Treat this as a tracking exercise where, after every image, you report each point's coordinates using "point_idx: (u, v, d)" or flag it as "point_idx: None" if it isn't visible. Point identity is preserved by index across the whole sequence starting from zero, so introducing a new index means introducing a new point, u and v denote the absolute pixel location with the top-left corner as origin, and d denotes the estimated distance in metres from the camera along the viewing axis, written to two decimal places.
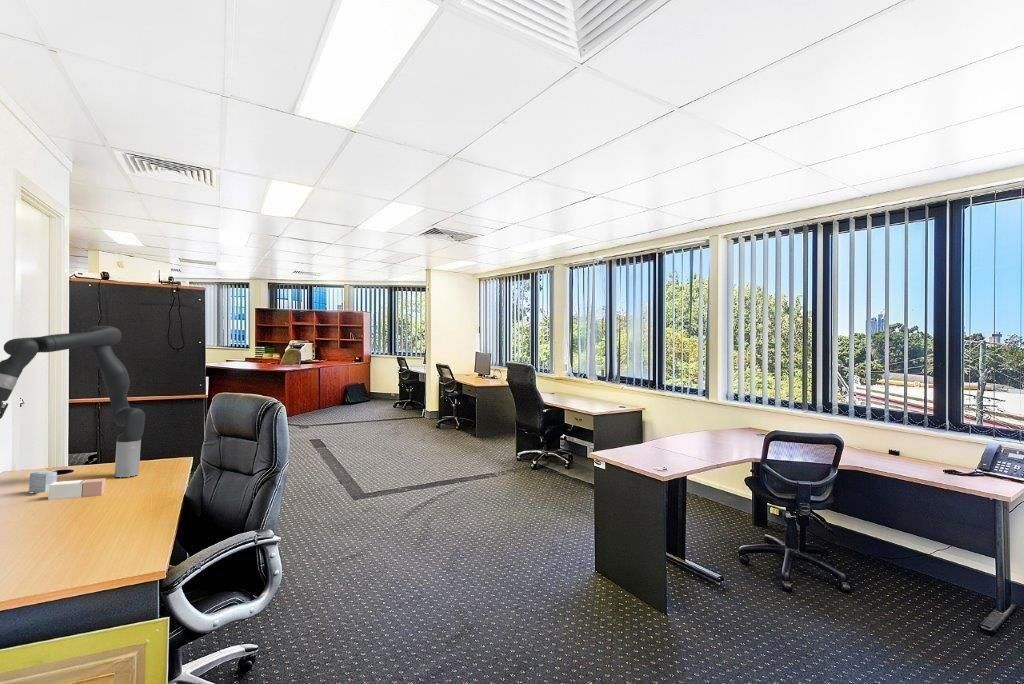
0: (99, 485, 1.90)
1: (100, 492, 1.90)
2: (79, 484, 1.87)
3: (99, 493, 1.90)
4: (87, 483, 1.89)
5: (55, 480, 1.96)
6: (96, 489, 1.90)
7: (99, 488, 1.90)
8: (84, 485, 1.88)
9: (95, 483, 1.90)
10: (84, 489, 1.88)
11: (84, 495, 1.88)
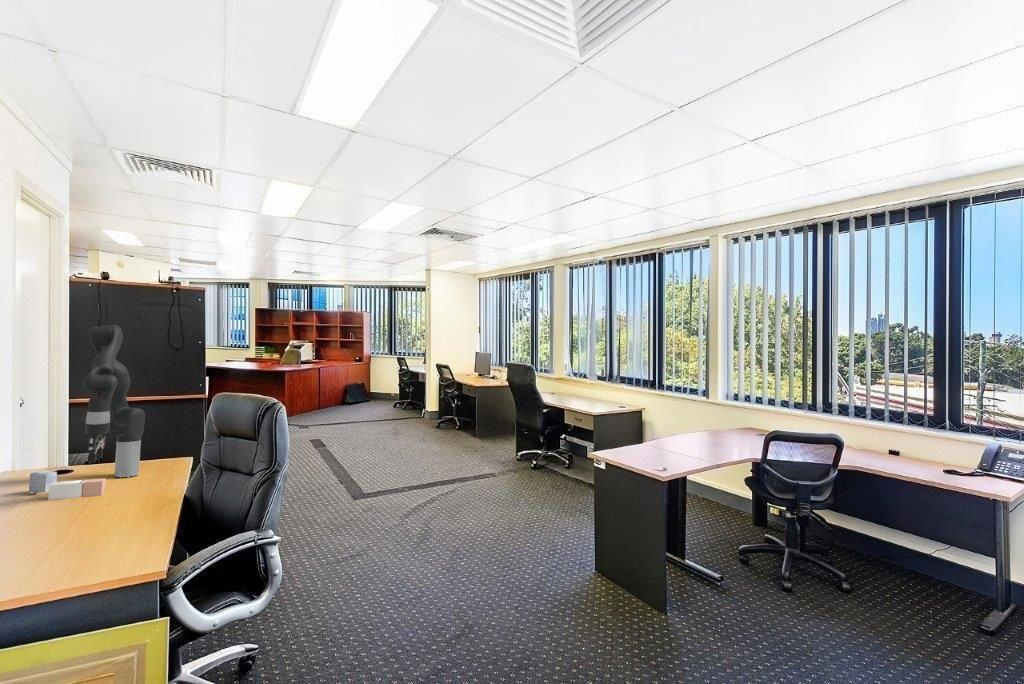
0: (99, 485, 1.90)
1: (100, 492, 1.90)
2: (79, 484, 1.87)
3: (99, 493, 1.90)
4: (87, 483, 1.89)
5: (55, 480, 1.96)
6: (96, 489, 1.90)
7: (99, 488, 1.90)
8: (84, 485, 1.88)
9: (95, 483, 1.90)
10: (84, 489, 1.88)
11: (84, 495, 1.88)
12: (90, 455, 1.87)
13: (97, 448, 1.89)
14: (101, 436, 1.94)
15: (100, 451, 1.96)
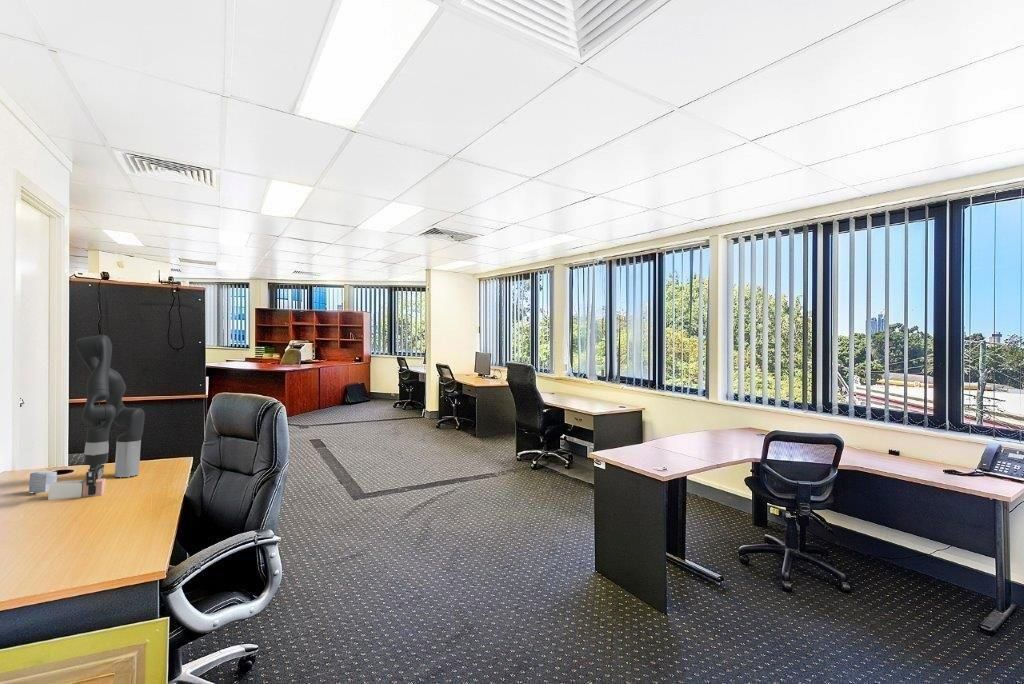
0: (99, 485, 1.90)
1: (100, 492, 1.90)
2: (79, 484, 1.87)
3: (99, 493, 1.90)
4: None
5: (55, 480, 1.96)
6: (96, 489, 1.90)
7: (99, 488, 1.90)
8: (84, 485, 1.88)
9: None
10: (84, 489, 1.88)
11: (84, 495, 1.88)
12: (90, 487, 1.88)
13: (97, 479, 1.90)
14: (100, 466, 1.94)
15: None
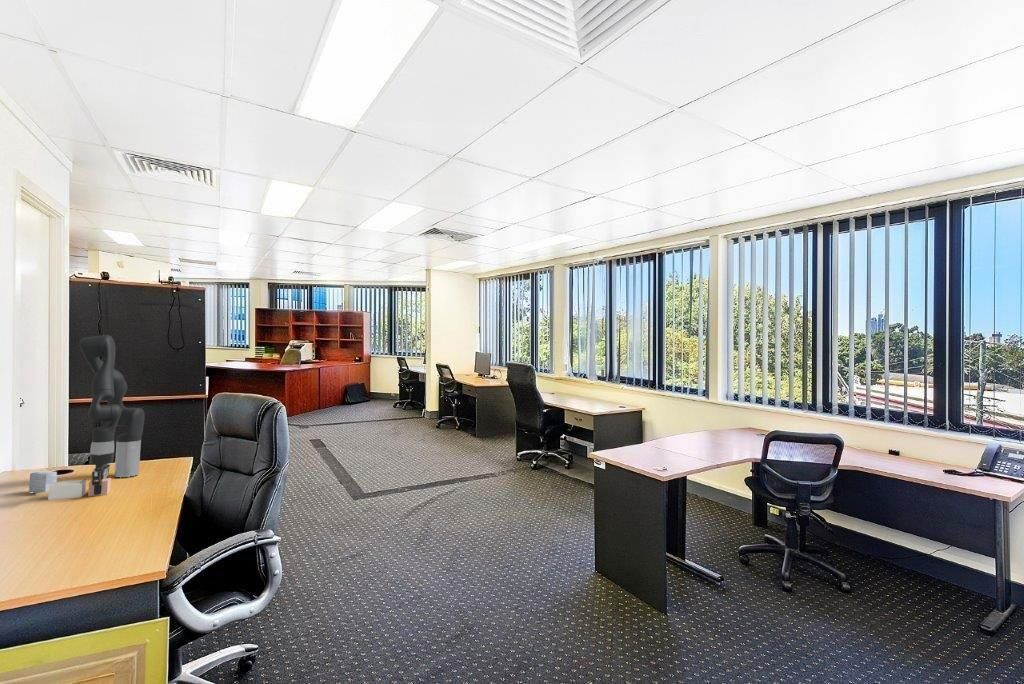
0: (104, 485, 1.91)
1: (106, 492, 1.91)
2: (79, 484, 1.87)
3: (105, 493, 1.91)
4: None
5: (55, 480, 1.96)
6: (102, 489, 1.91)
7: (105, 488, 1.91)
8: (90, 485, 1.89)
9: None
10: (90, 489, 1.89)
11: (90, 495, 1.89)
12: (96, 487, 1.89)
13: (102, 479, 1.91)
14: (105, 465, 1.94)
15: None
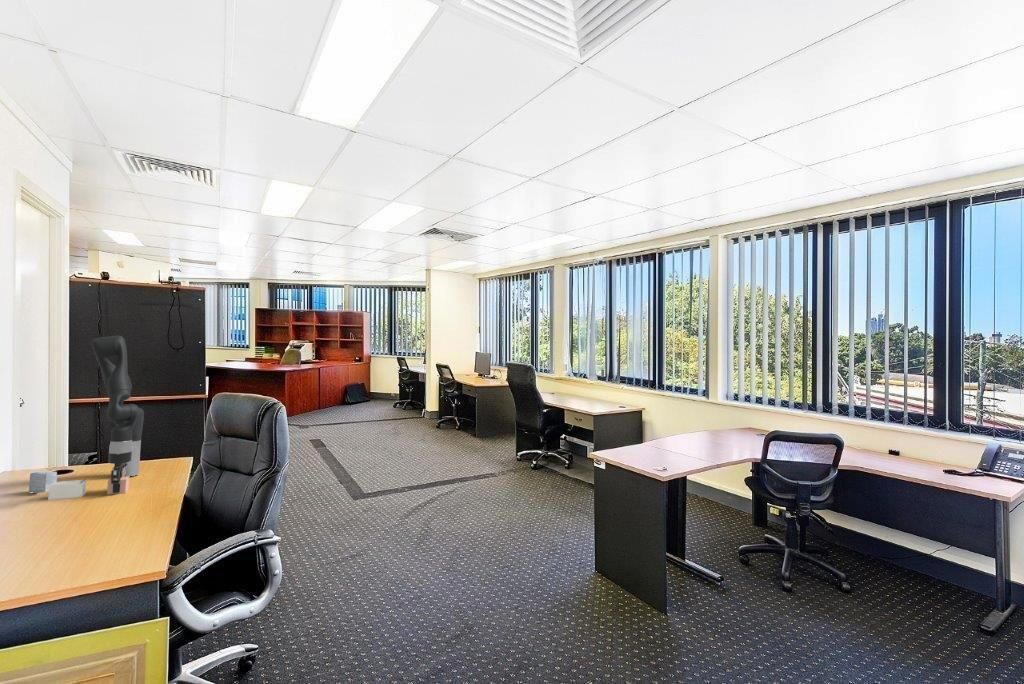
0: (123, 483, 1.94)
1: (124, 490, 1.94)
2: (79, 484, 1.87)
3: (123, 491, 1.94)
4: None
5: (55, 480, 1.96)
6: (121, 487, 1.94)
7: (124, 486, 1.94)
8: (109, 483, 1.92)
9: None
10: (109, 487, 1.92)
11: (109, 493, 1.92)
12: (115, 485, 1.92)
13: (121, 477, 1.94)
14: (123, 464, 1.97)
15: None
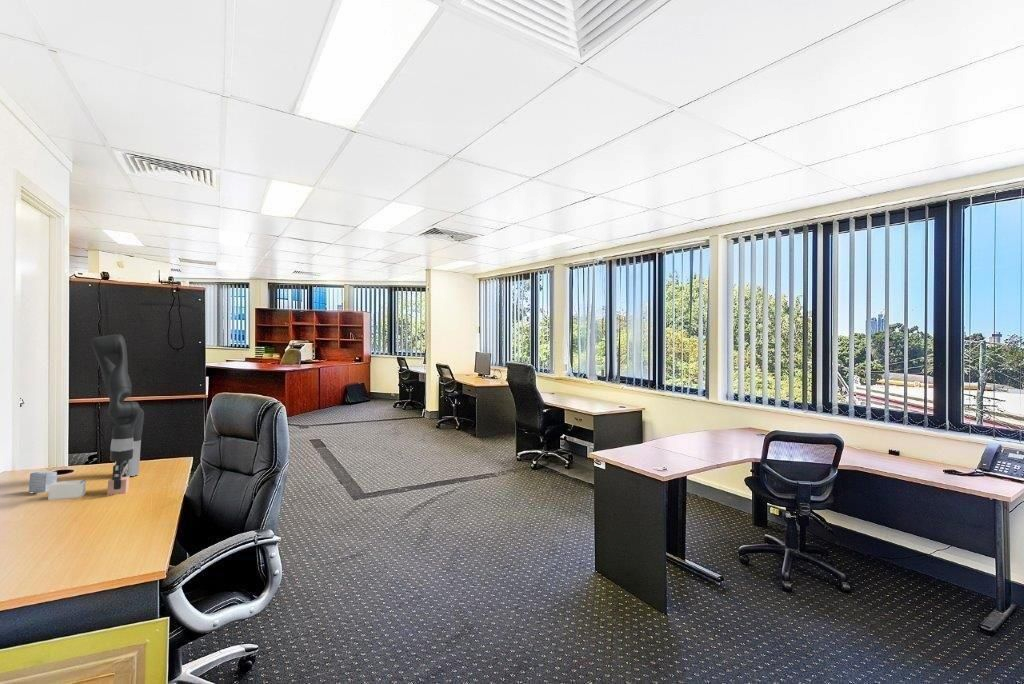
0: (123, 483, 1.94)
1: (124, 490, 1.94)
2: (79, 484, 1.87)
3: (124, 491, 1.94)
4: (112, 481, 1.92)
5: (55, 480, 1.96)
6: (121, 487, 1.94)
7: (124, 486, 1.94)
8: (109, 483, 1.92)
9: None
10: (109, 487, 1.92)
11: (109, 493, 1.92)
12: (116, 482, 1.91)
13: (122, 474, 1.93)
14: (125, 462, 1.98)
15: (124, 476, 1.99)
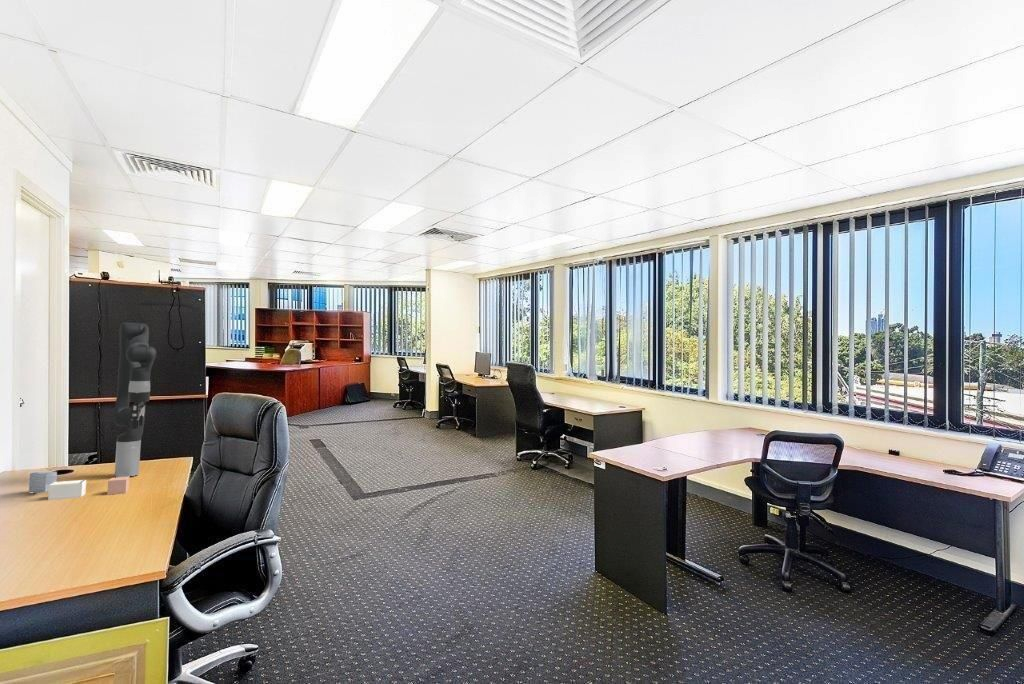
0: (123, 483, 1.94)
1: (124, 490, 1.94)
2: (79, 484, 1.87)
3: (124, 491, 1.94)
4: (112, 481, 1.92)
5: (55, 480, 1.96)
6: (121, 487, 1.94)
7: (124, 486, 1.94)
8: (109, 483, 1.92)
9: (119, 481, 1.94)
10: (109, 487, 1.92)
11: (109, 493, 1.92)
12: (134, 421, 1.99)
13: (139, 415, 2.02)
14: (142, 404, 2.06)
15: (141, 418, 2.08)
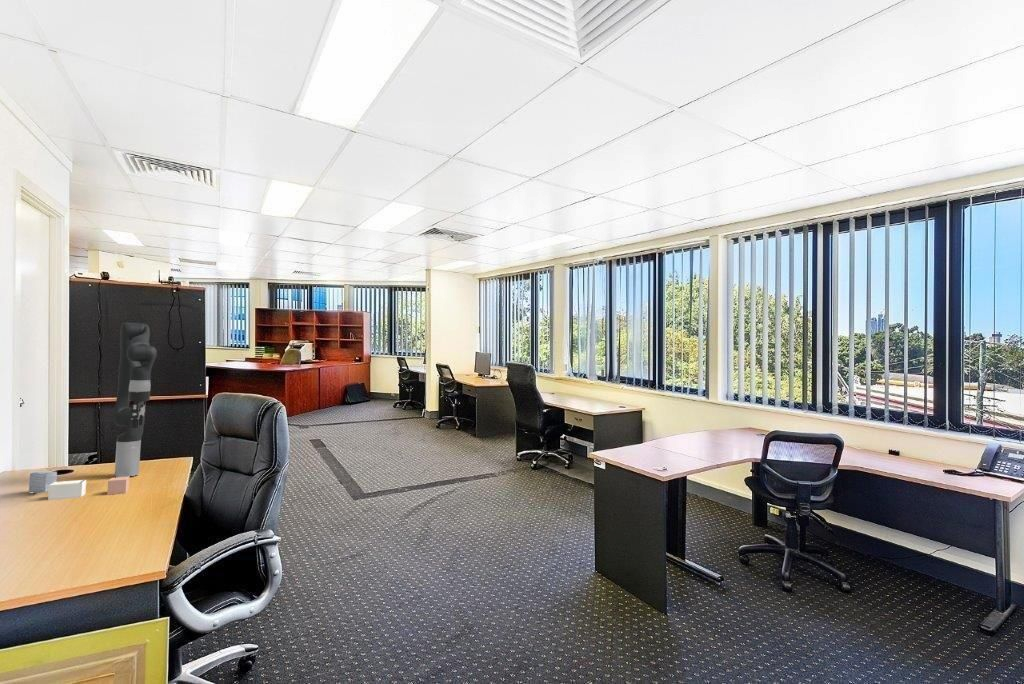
0: (123, 483, 1.94)
1: (124, 490, 1.94)
2: (79, 484, 1.87)
3: (124, 491, 1.94)
4: (112, 481, 1.92)
5: (55, 480, 1.96)
6: (121, 487, 1.94)
7: (124, 486, 1.94)
8: (109, 483, 1.92)
9: (119, 481, 1.94)
10: (109, 487, 1.92)
11: (109, 493, 1.92)
12: (134, 420, 1.99)
13: (140, 414, 2.02)
14: (142, 403, 2.06)
15: (141, 418, 2.08)
